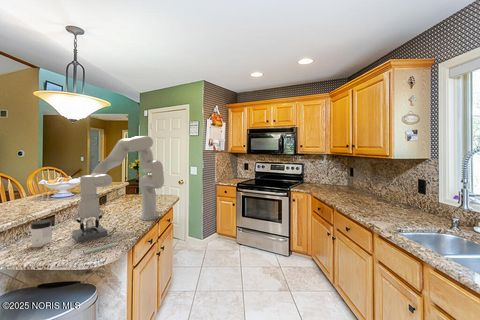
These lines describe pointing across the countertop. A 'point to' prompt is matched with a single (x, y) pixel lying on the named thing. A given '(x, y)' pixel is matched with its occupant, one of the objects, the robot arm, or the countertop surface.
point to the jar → (41, 233)
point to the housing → (89, 234)
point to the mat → (99, 248)
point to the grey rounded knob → (89, 226)
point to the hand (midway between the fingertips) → (89, 228)
